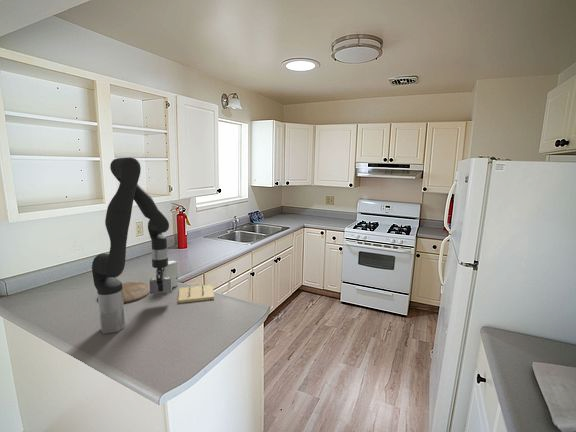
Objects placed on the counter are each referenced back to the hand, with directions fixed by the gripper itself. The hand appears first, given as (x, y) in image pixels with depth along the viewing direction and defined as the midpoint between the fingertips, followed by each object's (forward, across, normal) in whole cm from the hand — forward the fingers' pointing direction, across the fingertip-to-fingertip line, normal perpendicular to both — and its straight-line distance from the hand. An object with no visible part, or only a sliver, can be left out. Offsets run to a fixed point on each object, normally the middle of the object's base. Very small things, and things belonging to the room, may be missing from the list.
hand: (161, 289), depth 154 cm
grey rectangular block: (+1, 0, 0) cm, 1 cm away
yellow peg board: (+7, +6, -17) cm, 19 cm away
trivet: (+8, +16, +20) cm, 27 cm away
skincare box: (+7, +21, -2) cm, 22 cm away
